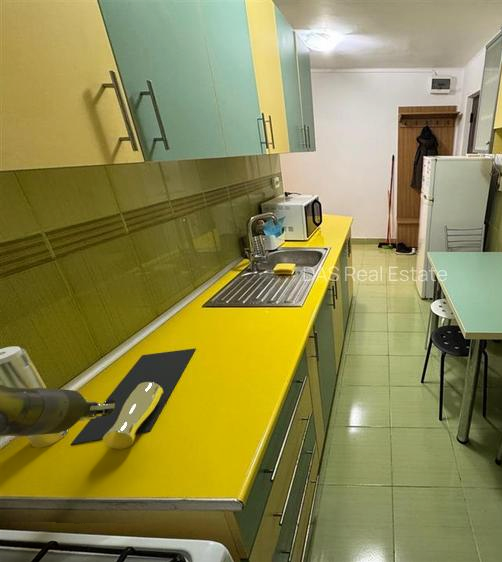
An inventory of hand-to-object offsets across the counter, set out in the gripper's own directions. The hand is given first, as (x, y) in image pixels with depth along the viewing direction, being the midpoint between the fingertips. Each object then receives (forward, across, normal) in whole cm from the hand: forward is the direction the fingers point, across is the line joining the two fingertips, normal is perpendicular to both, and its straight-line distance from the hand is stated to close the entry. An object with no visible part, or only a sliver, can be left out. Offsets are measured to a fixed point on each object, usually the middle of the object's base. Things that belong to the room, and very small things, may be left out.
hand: (107, 410), depth 68 cm
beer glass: (+4, 0, +7) cm, 8 cm away
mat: (+22, +4, -7) cm, 24 cm away
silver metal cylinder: (+12, +19, +3) cm, 23 cm away
